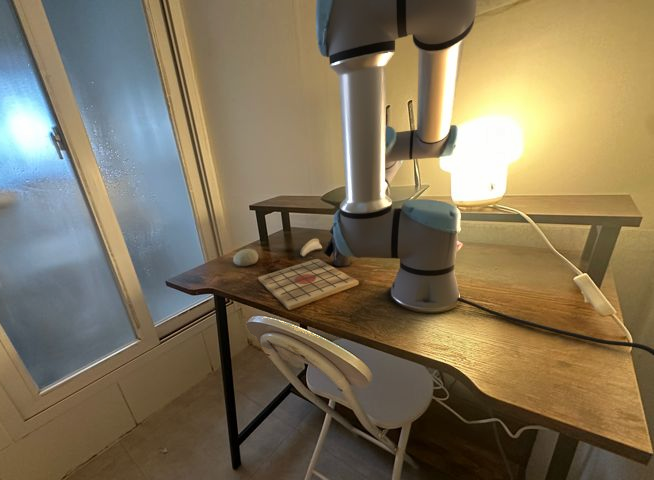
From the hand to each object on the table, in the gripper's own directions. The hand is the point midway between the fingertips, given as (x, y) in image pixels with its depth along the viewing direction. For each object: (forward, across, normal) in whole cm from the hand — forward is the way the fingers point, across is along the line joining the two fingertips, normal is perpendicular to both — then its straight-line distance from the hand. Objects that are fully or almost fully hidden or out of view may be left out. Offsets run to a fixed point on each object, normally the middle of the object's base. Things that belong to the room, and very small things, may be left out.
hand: (332, 257), depth 96 cm
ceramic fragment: (-1, +18, -6) cm, 19 cm away
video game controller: (-16, -20, -22) cm, 34 cm away
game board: (+11, -2, +6) cm, 13 cm away
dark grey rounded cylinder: (0, 0, -5) cm, 5 cm away
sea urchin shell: (+16, +27, +10) cm, 33 cm away
